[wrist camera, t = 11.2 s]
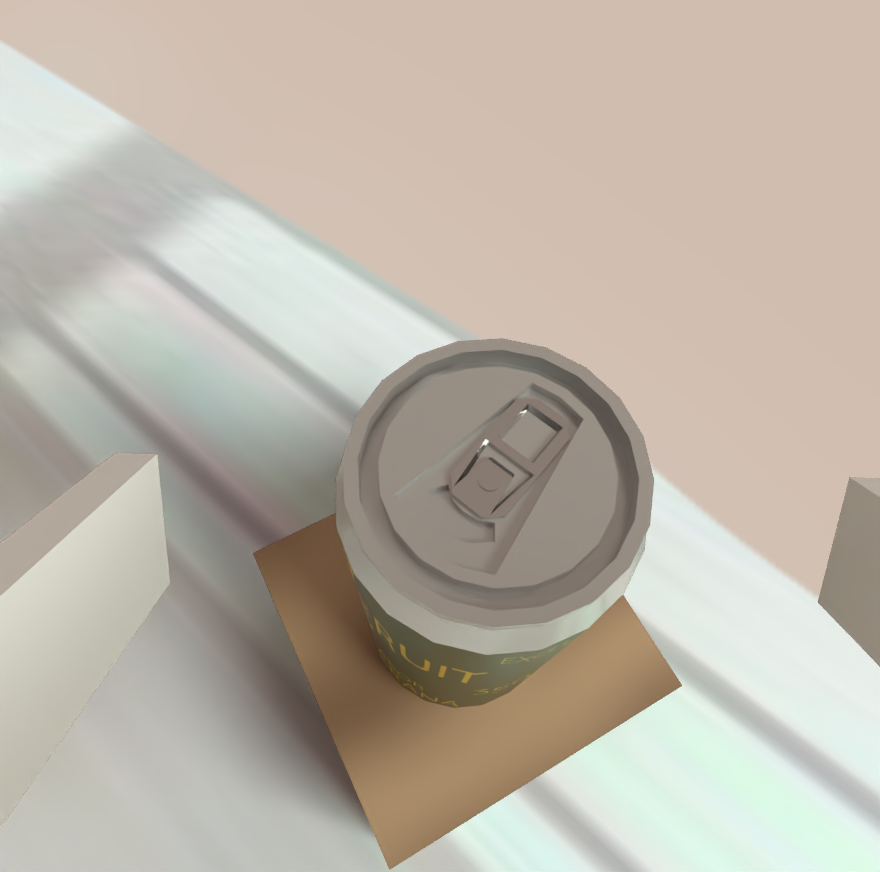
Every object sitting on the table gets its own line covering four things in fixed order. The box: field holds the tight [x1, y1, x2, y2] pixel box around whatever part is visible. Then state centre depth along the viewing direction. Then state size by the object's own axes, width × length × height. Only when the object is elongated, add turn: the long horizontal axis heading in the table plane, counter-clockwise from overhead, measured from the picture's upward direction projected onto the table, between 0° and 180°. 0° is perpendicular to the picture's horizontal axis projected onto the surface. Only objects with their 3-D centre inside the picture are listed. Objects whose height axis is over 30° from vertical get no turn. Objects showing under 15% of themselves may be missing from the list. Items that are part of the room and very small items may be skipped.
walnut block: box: [253, 513, 682, 870], centre depth 24 cm, size 10×10×6 cm
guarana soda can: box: [335, 339, 654, 708], centre depth 16 cm, size 5×5×12 cm
